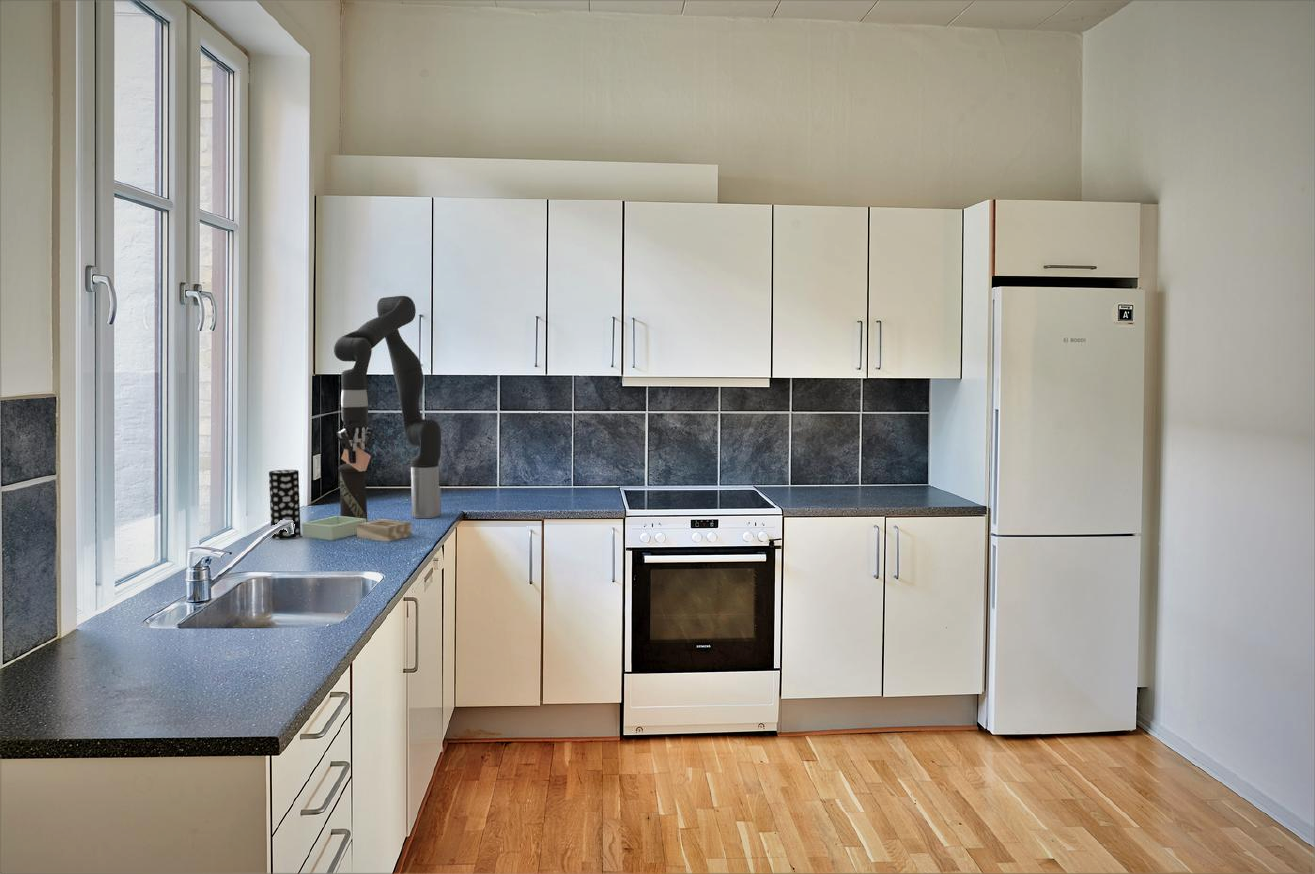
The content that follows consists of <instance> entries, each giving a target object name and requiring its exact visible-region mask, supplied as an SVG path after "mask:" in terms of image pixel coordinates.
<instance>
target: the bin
mask: <svg viewBox="0 0 1315 874" xmlns="http://www.w3.org/2000/svg"><path fill="white" fill-rule="evenodd" d="M365 522H366V519H363V518H354V517H345V516H341V515H335V516H329V517H325V518H320V519H315V520H311V521H307V522H302V523H301V531H302V533H301V535H302V539H304V538H312V539H320V540H328V541H334V540H338V539H344V538H347V537H350V536H352V537H353V536H355V535H356V536H357V524H361V523H365Z"/></svg>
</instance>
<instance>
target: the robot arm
mask: <svg viewBox="0 0 1315 874" xmlns="http://www.w3.org/2000/svg"><path fill="white" fill-rule="evenodd" d="M376 307H377V308H376V310H377V311H376V312H377V317H375V318H372V319H370V320H368V321H367V322H365V323H364V324H362V325H361V326H360V327H359V328H358V329H356V330H355V331H352V332H349V333H347V334H344V335H342V336H341V337H339V338H338V339H337V340H336V342H335V344H334V347H333V353H334V356H335V357H336V358H337V359H338V360H339V361H341V362H355V363H354V365H353V367H352V368H350V369H346V370H343V371H342V372H341V375H340V377H341V380H340V382H341V394H340V395H341V396H340V405H341V406H340V408H341V409H340V410H341V420H342V422H343V426H342V429H341V430H340V431H337V432H336V434H335V435H336V437H337V439H338V441H339V443H340V445H341V448H342V449H343V450H344V449H346V450H348V456H349V462H350V463H353V464H354V463H356V451H355V450H356V446H357V447H358V448H360V449H361V450H363V451H364V450H365V449H366V448H369V446H370V443H371V440H372V437H373V435H374V431H375V430H374V429H373V428H369V427H368V425H367V422H368V420H369V404H368V403H369V402H368V401H369V400H368V397H369V396H368V392H367V391H368V390H367V374H368V370H369V366H370V365H369V364H370V361H371V358H372V353H373V352H372V351H373V350H372V349H374V348H375V347H376V346H377V345H378V344H379V343H380V342H381V341H382V340H385V342H386V345H387V349H388V353H389V358H390V362H391V368H392V373H393V377H394V381H395V385H396V388H397V392H398V393H397V394H398V399H399V403H400V409H401V417H402V424H403V432H404V436H405V437H404V438H405V439H406V441H407V442H408V444H409V445H411V446H416V447H419V453H418V454H417V455H415V456H413V457H412V458H411V459H410V490H411V491H410V493H411V496H410V497H411V517H412V518H414V519H431V518H432V519H433V518H437V517H439V516H441V515H442V488H441V486H440V478H439V477H440V475H439V474H440V472H439V470H440V469H439V461H440V459H441V452H442V451H441V449H442V447H441V446H442V430H441V426H440V424H439V423H438V422H437V421H436V420H434V419H424V418H422V414H421V411H420V398H421V395H422V392H423V388H424V383H425V380H424V379H425V377H424V373H423V369H422V364H421V361H420V359H419V357H418V356H417V355H416V353H415V352H414V351H413V350H412V349H411V347H410V346H408V344H406V342H405V341H404V339H403V338H402V335H401V334H400V331H399V329H401V328H402V327H404V326H406V325H407V324H410V323H411V322H413V321H414V320H415V316H416V314H417V312H416V309H417V308H416V305H415V302H414V300H413V299H412V298H411V297H409V296H407V295H397V296H388V297H387V296H386V297H382V298H381V297H380V299H379V300H378V301H377V306H376ZM351 443H352V446H351ZM364 452H365V451H364Z"/></svg>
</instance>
